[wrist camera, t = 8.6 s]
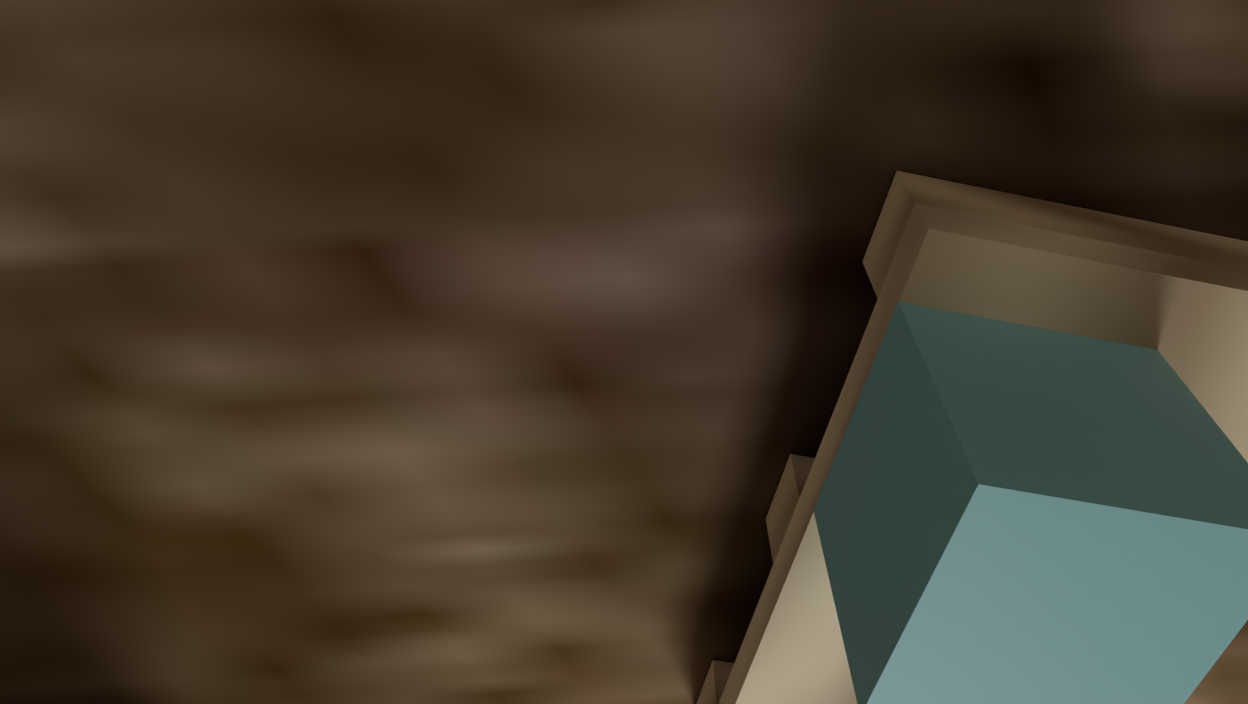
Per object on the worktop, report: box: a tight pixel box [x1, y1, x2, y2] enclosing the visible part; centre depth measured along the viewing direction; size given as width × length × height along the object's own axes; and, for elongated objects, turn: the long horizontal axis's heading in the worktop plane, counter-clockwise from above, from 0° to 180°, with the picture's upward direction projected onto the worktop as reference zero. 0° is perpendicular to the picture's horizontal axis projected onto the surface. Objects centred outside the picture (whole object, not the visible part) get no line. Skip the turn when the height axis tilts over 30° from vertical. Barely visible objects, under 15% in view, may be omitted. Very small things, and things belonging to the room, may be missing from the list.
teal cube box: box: [813, 302, 1248, 704], centre depth 18 cm, size 5×5×5 cm
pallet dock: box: [696, 171, 1248, 704], centre depth 23 cm, size 9×16×2 cm, turn 168°
